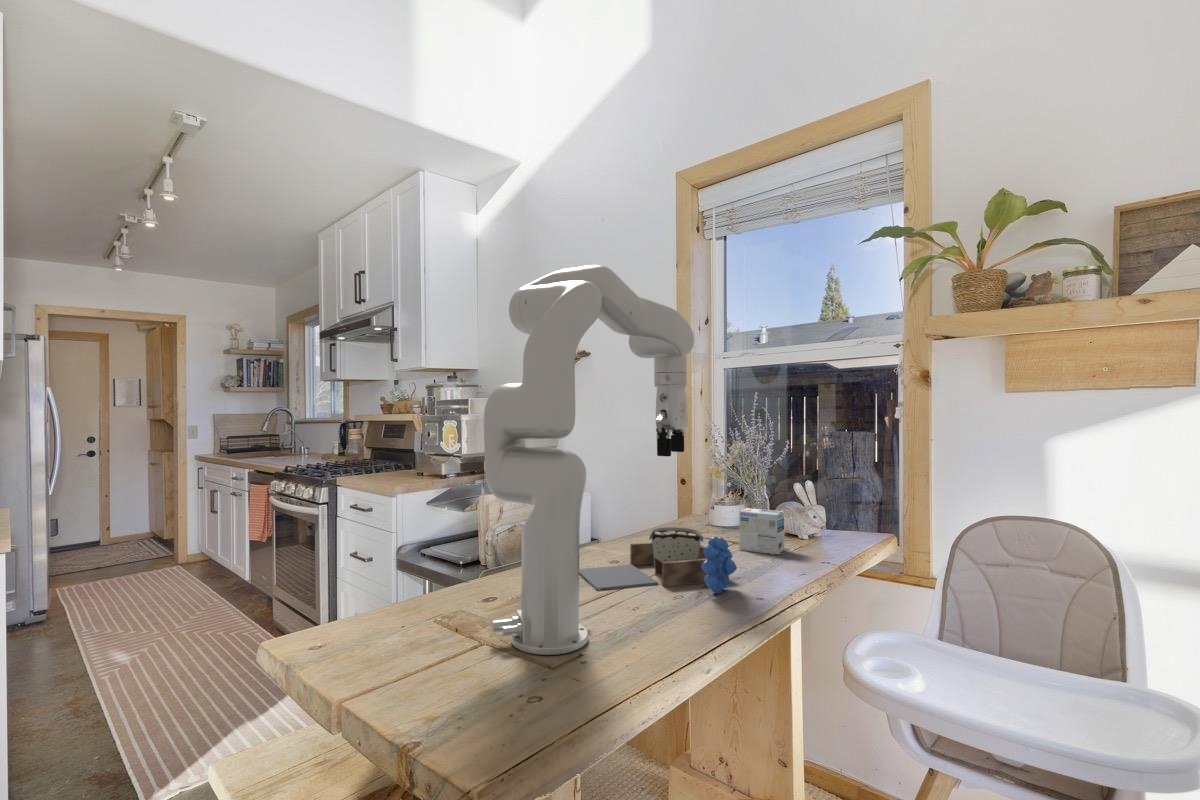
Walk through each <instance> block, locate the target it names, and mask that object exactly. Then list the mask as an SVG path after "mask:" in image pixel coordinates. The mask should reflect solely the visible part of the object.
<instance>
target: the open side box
mask: <svg viewBox="0 0 1200 800" xmlns="http://www.w3.org/2000/svg"><path fill="white" fill-rule="evenodd" d="M705 547H706V546H704V545H702V544H700V549H699V558H698V559H694V560H683V561H672V562H662V575H661V586H662V587H664V588H665V587H667V588H668V587H675V586H686V585H695V584H705V581H704V578H705V576H706V575H707V574H705V573H704V571H703V570H702V567H701V565H702V563H703V562H704V561H706V560H708V559H707V558H706V557H705V556H704V553H703V550H704V548H705ZM629 555H630V563H629V565H633V566H639V565H650V564H651V565H652V564H653V565H654V557H653V546H652V541H651V542H637V543H630V554H629ZM727 578H728V580H729V581H730V575H729V576H727Z"/></svg>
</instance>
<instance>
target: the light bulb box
mask: <svg viewBox="0 0 1200 800" xmlns="http://www.w3.org/2000/svg"><path fill="white" fill-rule="evenodd" d="M738 518H739V522H738V523H739V528H738V529H739V547H738V548H739V550H740V551H745V552H746V551H747V552H751V553H752V552H753V553H759V554H760V553H761V554H767V553H770V554H769V555H774V554H778V555H779V553H780V552H781V551H782V552H784V551H785V511H783V510H771V509H761V508H752V507H751V508H750V507H746V508H744V509H741V510H739V517H738ZM783 550H784V551H783ZM782 552H781V553H782ZM781 553H780V554H781Z"/></svg>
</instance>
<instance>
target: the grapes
mask: <svg viewBox="0 0 1200 800" xmlns="http://www.w3.org/2000/svg"><path fill="white" fill-rule="evenodd" d="M707 544H708V545H707V546H704V547H705V548H704V550H703V553H704V556H705V557H706V558H707V559H708V560H706V561H704V562H703V563H702V565H701V567H702V570H703V571H704V573H705V574H707V575H706V576H705V578H704V581H705V583H704V584H705V586H707V587H708V588H709V589H711V591H712V592H713V593H714V594H720V593H721V592H723V590H724V589H726V588H727V587H728V586H729V585H730V584H731V582H730V579H729V580H728V578H727V576H729V577H730V575H732V574H734V573H735V571H737V569H738V566H737V564H736V563H735V561H734V560H732V558H733V557H734V556H733V554H732V552H731V550H730V549H729V547H730V546H729V543H728V542H727V540H726V539H725V538H723V537H718V536H712V537H711V538H709V540H708V542H707Z"/></svg>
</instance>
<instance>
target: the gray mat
mask: <svg viewBox="0 0 1200 800" xmlns="http://www.w3.org/2000/svg"><path fill="white" fill-rule="evenodd" d="M579 574H580V575H579V576H581V578H583V579H584V578H585V579H586V580H587V581H588V582H589V583H590V584H591V587H593V588H594V587H595V588H596V589H597V590H598V591H600V590H599V589H608V590H615V589H614V588H617V589H625V588H634V587H636V586H637V587H644V586H645V587H646V586H655V585H656V586H657V585H658V584H659V582H658V581H657V580H655V579H654V578H652V577H651V576H650V575H648V574H647V573H645V572H644V571H642V570H641V569H639V568H638V567H636V565H631V564H623V565H610V566H609V565H608V566H600V567H599V566H598V567H590V568H589V567H588V568H579ZM585 579H584V580H585ZM586 580H585V581H586ZM587 581H586V582H587ZM588 582H587V583H588ZM589 583H588V584H589ZM590 584H589V585H590ZM595 588H594V589H595ZM596 589H595V590H596ZM597 590H596V591H597Z"/></svg>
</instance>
